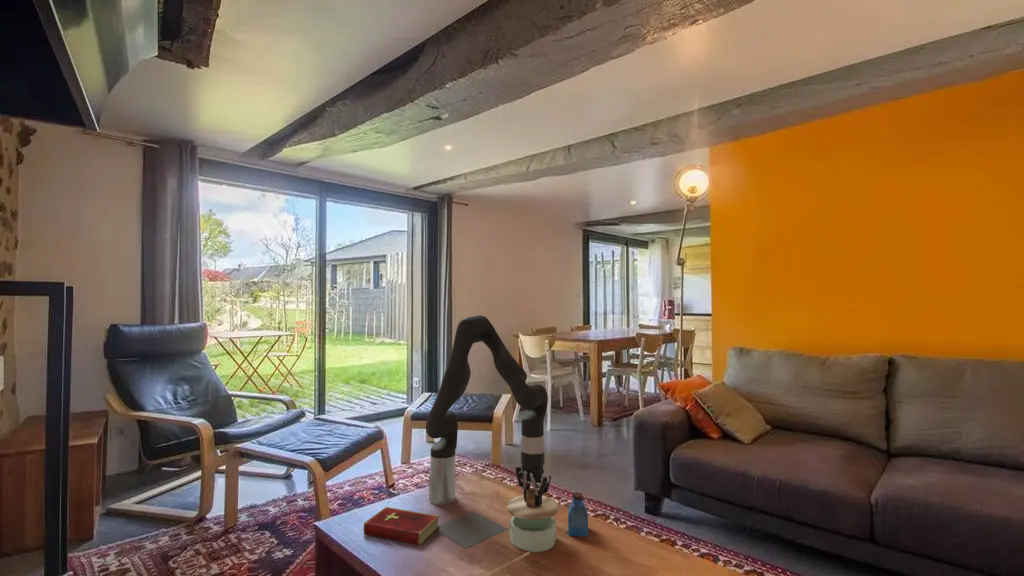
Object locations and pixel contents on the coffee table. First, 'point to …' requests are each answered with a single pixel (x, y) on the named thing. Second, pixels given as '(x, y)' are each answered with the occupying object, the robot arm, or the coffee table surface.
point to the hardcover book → (402, 526)
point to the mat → (470, 529)
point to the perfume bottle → (577, 517)
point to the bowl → (533, 534)
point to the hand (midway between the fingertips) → (532, 503)
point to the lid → (532, 507)
